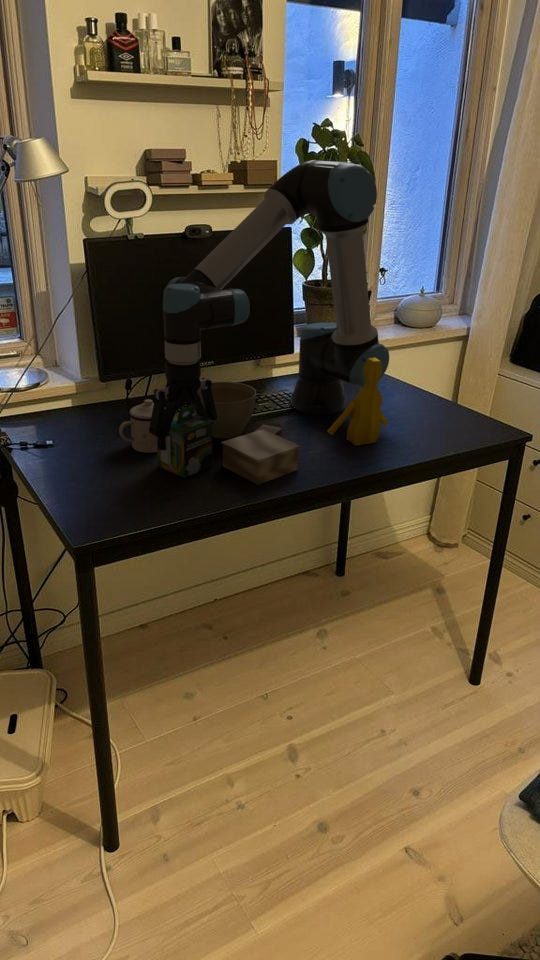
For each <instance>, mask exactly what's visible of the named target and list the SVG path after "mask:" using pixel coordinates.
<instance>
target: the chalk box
mask: <svg viewBox="0 0 540 960" xmlns="http://www.w3.org/2000/svg"><path fill="white" fill-rule="evenodd" d="M178 410H179V411H178V412H177V411H176V413H175V416H174V418H173V421H172V423H171V426H170V429H169V431H168V434H167V435H168V436H170V448H171V464H169V465H168V464H166V463H164V462H163V461H161V450H160V449H159V448H158V437H157V452H156V454H157V467H158V468H160V469H163V470H166V471H168V472H170V473H173V474H174V475H177V476H179V477H181V478H183V479H186V478H188V477H191V476H192V475H193V476H194V475H195V474H197V473H198V474H199V472H201V471H204V470H207V469H209V468H211V467H213V437H212V420H210V419H207V418H205V417H202V416H199V415H197V414H195V412H194V405H192V404H191V405H188V406H185V407H182V408H179V409H178Z"/></svg>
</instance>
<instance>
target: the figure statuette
mask: <svg viewBox="0 0 540 960" xmlns="http://www.w3.org/2000/svg"><path fill="white" fill-rule="evenodd" d="M363 373H364V378H365V384H364V386H363V387H361V388H360V390H359V391H358V393H357V394H356V396H355V398H353V400H351V401H350V402H349V403H348V405H347V406H346V408H345V409H344V410H343V411H342V414H341V415H340V416H339V417H338V418H337V419H336V420H335V421H334V422H333V424H332V425H331V426H330V427H329V428H328V429H327V430H326V431H327V432H328V434H330V435H332V436H333V435H334V434H335V433H336V431H337V430H338V429H339V428H340V427H341V426H342V424H344V422H345V421H346V420H347V419H348V417H349V416H350V421H349V424H348V427H347V432H346V433H347V434H346V440H347V441H348V442H350V443H351V444H352V445H354V446H362V445H368V444H369V445H370V444H374V443H377V441H378V438H379V437H380V433H381V424H382V425H383V426H384V427H387V426H388V424H389V422H388V420H387V418H386V417H385V415H384V414H383V412H382V411H381V407H382V404H383V395H382V394H381V392H380V390H379V388H378V383H379V382H380V380H381V379H380V377H381V374H382V365H381V361H380V360H378V359H377V358H375V357H374V358H368V359H367V361H366V364H365V366H364V370H363ZM379 379H380V380H379Z"/></svg>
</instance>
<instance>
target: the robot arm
mask: <svg viewBox="0 0 540 960" xmlns="http://www.w3.org/2000/svg"><path fill="white" fill-rule="evenodd" d="M377 190H378V189H377V184H376V181H375V179H374V177H373V175H372V173H370V171H369V170H368V169H367V168H366V167H364V166H362V165H361V164H355V163H353V162H351V161H350V162H349V161H330V160H329V161H328V160H320V159H313V160H312V159H311V160H308V161H303V162H302V163H299V164H298V165H295V166H294V167H293V168H291V169H290V170H288V171H287V172H285V174H283V175H282V176H280V177H279V178H278V179H277V180H276V181H275V182H274V183H273V184H272V185H271V186H270V187H269V188H268V189H267V190H266V191H265V192H264V195H263V196H264V199H263V200H262V201H261V202H260V203H259V204H258V205H257V206H256V207H255V208H254V209H253V210H252V211H250V213H249V214H248V215H247V216H246V217H245V218H244V219H243V220H242V221H241V222H239V224H238V225H237V226H236V227H234V229H233V230H232V231H231V232H230V233H229V234H228V235H227V236H226V237H225V238H224V239H223V240H222V241H221V242H220V243H219V244H218V245H217V246H216V247H215V248H214V249H213V250H212V251H211V252H210V253H209V254H207V256H206V257H205V258H203V260H202V261H201V262H200V263H198V265H197V266H195V267H194V269H193V270H191V271H190V273H188V274H187V275H186V276H178V277H175V278H173V279H171V280H169V281H168V283H167V285H166V287H164V290H163V297H162V299H163V300H162V311H163V332H164V334H163V336H164V358H165V359H166V360H165V362H164V366H165V367H164V373H165V380H166V385H165V387H163V388H161V389H158V388H155V389H154V390H153V398H154V402H153V403H154V406H153V411H152V417H151V422H150V428H149V433H151V434H153V435H155V436H157V437H158V448H159V449H160V450H161V461H163V462H164V463H166V464H168V465H169V464H171V448H170V436H168V435H167V434H168V431H169V429H170V426H171V423H172V421H173V418H174V416H175V413H177V410H179V409H180V408H181V405H182V404H185V403H187V402H188V403H190V404H191V405H194V409H195V411H196V413H197V415H199V416H202V417H205V418H207V419H210V420H212V425H213V420H217V412H216V408H215V404H214V400H213V395H212V391H211V388H212V382H213V380H210V379H209V378H206V377H202V378H201V375H202V374H201V373H202V367H201V364H202V363H201V361H200V360H201V358H202V350H201V349H202V347H201V331H202V330H208V329H215V328H223V327H233V326H235V325H239V324H243V323H245V322H246V321H247V320H248V318H249V316H250V314H251V313H250V311H251V308H250V307H251V304H250V303H251V302H250V300H249V297H248V295H247V293H246V292H245V291H244V290H243V289H240V288H226V289H223V288H224V287H225V286H226V285H227V284H228V283H229V282H230V281H232V280H233V278H235V276H236V275H238V273H239V272H240V271H241V270H242V269H243V268H244V267H245V266H247V264H248V263H249V262H251V260H253V258H254V257H255V256H256V255H257V254H258V253H260V251H261V250H262V249H264V247H266V246H267V245H268V243H269V242H271V240H272V239H273V238H275V236H276V235H277V234H278V233H280V231H281V230H282V229H283V228H285V226H286V225H293V224H295V222H297V220H299V218H301V217H303V216H306V215H316V223H317V229H318V231H319V232H320V233H322V234H323V235H324V236H325V241H326V249H327V250H326V251H327V258H328V267H329V275H330V282H331V293H332V301H333V310H334V316H335V318H334V319H335V322H328V321H327V322H314V323H309V324H306V325H304V326H303V327H302V329H301V331H300V339H299V351H298V352H299V353H298V354H299V355H298V356H299V358H298V361H299V362H298V377H297V381H296V383H295V387H294V390H293V393H292V394H291V397H290V405H291V404H292V405H293V406H294V407H295V408H296V411H298V412H301V413H304V414H309V415H315V416H327V415H334V414H338V413H340V412H343V411H345V409H346V408H345V407H346V397H345V395H344V393H343V392H344V391H343V390H344V389H343V386H342V381H343V382H346V383H349V384H351V385H353V386H358V387H360V388H362V387H363V386H364V384H365V378H364V373H363V370H364V366H365V364H366V361H367V359H368V358H374V357H375V358H377V359H378V360H380V361H381V365H382V374H381V377H380V379H379V381H380V380H381V379H382V378H383V377H384V375H385V373H386V371H387V369H388V367H389V363H390V351H389V349H388V348H387V347H386V346H385V345H384V344H382V343H380V342H379V332H378V329H377V327H375V326H373V324H372V323H371V320H372V319H371V311H370V300H369V289H368V277H367V266H366V254H365V243H364V232H363V231H364V229H365V228H366V226H367V225H368V223H369V217H370V216H371V214H373V212H374V210H375V207H374V205H376V204H377V199H378V191H377ZM200 378H201V379H200ZM341 380H342V381H341ZM199 388H201V394H202V398H203V402H204V406H205V408H204V406H203V404H202V402H201V399H200V397H199V395H198V393H197V392H198V390H199ZM167 395H168V396H167Z"/></svg>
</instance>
